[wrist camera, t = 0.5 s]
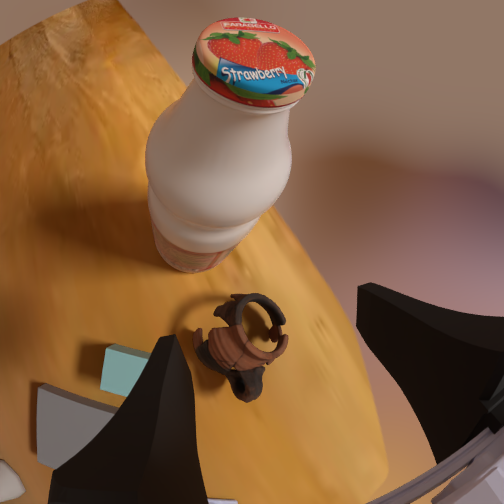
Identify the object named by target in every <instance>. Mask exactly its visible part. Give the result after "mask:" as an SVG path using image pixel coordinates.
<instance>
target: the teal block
mask: <svg viewBox="0 0 504 504" xmlns="http://www.w3.org/2000/svg"><path fill="white" fill-rule="evenodd" d="M150 355H151V353H148V352H144V351H140V350H136V349H132V348H129V347H125V346H121V345H118V344H113V345H111V346H109V347H107V348H106V352H105V358H104V365H103V371H102V379H101V386H100V389H101V390H105V391H108V392H112V393H115V394H119V395H122V396H126V397H127V396H128V395H129V393H130V391H131V390H132V388H133V386H134V385H135V383H136V381H137V380H138V378H139V376H140V374H141V372H142V371H143V369H144V367H145V365H146V363H147V361H148V359H149V357H150Z"/></svg>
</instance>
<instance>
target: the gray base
mask: <svg viewBox="0 0 504 504" xmlns="http://www.w3.org/2000/svg"><path fill="white" fill-rule="evenodd" d="M118 409H119V408H118V407H114V406H111V405H107V404H104V403H101V402H97V401H94V400H91V399H88V398H85V397H82V396H79V395H76V394H73V393H70V392H68V391H65V390H62V389H60V388H57V387H54V386H52V385H49V384H47V383H45V384H43V385H42V386H40V387H38V397H37V457H38V462H39V463H41V464H44V465H46V466H48V467H51V468H53V469H57V468H58V467H60V466H61V465H62V464H64V463H65V462H66V461H68V460H69V459H70V458H72V457H73V456H74V455H76V454H77V453H78V452H79V451H80V450H81V449H82V448H84V447H85V446H86V445H87V444H88V443H89V442H90V441H91V440H92V439H93V438H94V437H95V436H96V435H97V434H98V433H99V432H100V431H101V430H102V428H103V427H104V426H105V425H106V424H107V423H108V422H109V421H110V419H111V418H112V417H113V416H114V415H115V413H116V412H117V411H118Z"/></svg>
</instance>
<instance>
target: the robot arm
mask: <svg viewBox="0 0 504 504" xmlns="http://www.w3.org/2000/svg"><path fill="white" fill-rule="evenodd" d="M356 327H357V329H358V330H359V332H360V334H361V336H362V337H363V339H364V341H365V343H366V344H367V346H368V347H369V348H370V350H371V351H372V352H373V353H374V355H375V356H376V357H377V358H378V360H379V361H380V362H381V363H382V365H383V366H384V367H385V368H386V370H387V371H388V372H389V373H390V375H391V376H392V377H393V378H394V380H395V381H396V382H397V384H398V385H399V386H400V388H401V390H402V391H403V393H404V395H405V396H406V398H407V400H408V401H409V403H410V405H411V407H412V408H413V410H414V412H415V414H416V416H417V418H418V420H419V422H420V424H421V426H422V428H423V430H424V432H425V435H426V437H427V439H428V441H429V444H430V447H431V449H432V452H433V455H434V457H435V460H436V463H437V465H436V466H435V467H433V468H431V469H430V470H428V471H427V472H425V473H423V474H422V475H420V476H418V477H417V478H415V479H413V480H411V481H410V482H408V483H406V484H404V485H403V486H401V487H399V488H397V489H395V490H393V491H391V492H389V493H387V494H385V495H383V496H381V497H379V498H377V499H375V500H373V501H371V502H368V503H366V504H410V503H412V502H414V501H415V500H417V499H419V498H421V497H422V496H424V495H425V494H427V493H429V492H430V491H432V490H433V489H435V488H436V487H438V486H440V485H441V484H442V483H444V482H445V481H447V480H448V479H450V478H451V477H452V476H454V475H455V474H457V473H458V472H459V471H461V470H462V469H463V468H465V467H466V466H467V465H468V466H467V468H466V469H465V470H464V471H463V472H461V473H460V474H459V475H458V476H456V477H455V478H454V479H453V480H451V482H450V483H449V484H448V485H447V486H446V487H445V488H444V489H443V490H442V491H441V492H440V493H439V494H437V496H435V497H434V498H432V500H431V502H432V504H504V317H495V316H482V315H475V314H468V313H462V312H458V311H454V310H449V309H445V308H442V307H438V306H435V305H432V304H429V303H425V302H423V301H420V300H417V299H414V298H412V297H409V296H406V295H404V294H401V293H399V292H396V291H393V290H391V289H388V288H386V287H383V286H380V285H377V284H374V283H367V284H364V285H360V286H358V292H357V320H356ZM48 504H238V502H237V501H236V500H226V499H209V498H207V495H206V491H205V486H204V482H203V478H202V473H201V468H200V463H199V457H198V451H197V441H196V421H195V397H194V389H193V382H192V376H191V371H190V369H189V367H188V364H187V362H186V359H185V357H184V355H183V352H182V350H181V347H180V345H179V342H178V340H177V337H176V334H173V335H169V336H164V337H160V338H159V339H158V341H157V343H156V345H155V347H154V349H153V351H152V353H151V355H150V357H149V359H148V361H147V363H146V365H145V367H144V369H143V371H142V372H141V374H140V376H139V378H138V380H137V381H136V383H135V385H134V386H133V388H132V390H131V391H130V393H129V395H128V396H127V398H126V399H125V401H124V402H123V404H122V405H121V407H120V408H119V409H118V411H117V412H116V413H115V415H114V416H113V417H112V418H111V419H110V421H109V422H108V423H107V424H106V425H105V426H104V427H103V428H102V430H101V431H100V432H99V433H98V434H97V435H96V436H95V437H94V438H93V439H92V440H91V441H90V442H89V443H88V444H87V445H86V446H85V447H84V448H82V449H81V450H80V451H79V452H78V453H77V454H76V455H74V456H73V457H72V458H70V459H69V460H68V461H66V462H65V463H64V464H62V465H61V466H60V467H58V468H57V469H55V470H54V471H53V474H52V479H51V485H50V491H49V498H48Z"/></svg>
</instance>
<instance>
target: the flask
mask: <svg viewBox="0 0 504 504" xmlns="http://www.w3.org/2000/svg"><path fill="white" fill-rule="evenodd" d="M25 491H26V490H25V488H24V486H23V484H22V482H21V480H20V478H19V476H18V475H17V474H16V473H15V471H14V470H13V469H12V468H11V467H10V466H9V465H8V464H7V463H6V462H5V461H4V460H0V502H3V501H7V500H11V499H15V498H18V497H20V496H21V495H22V494H23V493H24V492H25Z"/></svg>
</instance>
